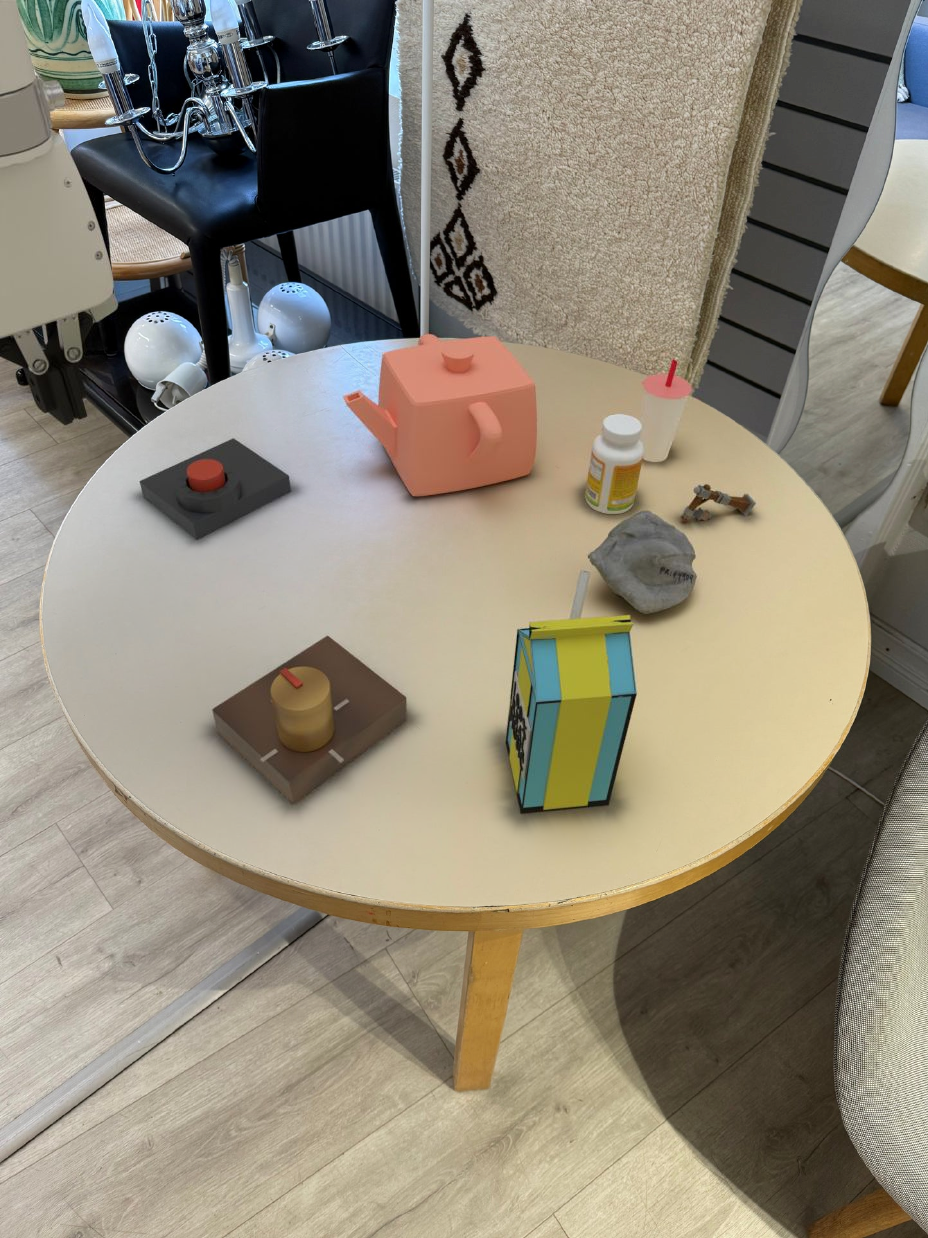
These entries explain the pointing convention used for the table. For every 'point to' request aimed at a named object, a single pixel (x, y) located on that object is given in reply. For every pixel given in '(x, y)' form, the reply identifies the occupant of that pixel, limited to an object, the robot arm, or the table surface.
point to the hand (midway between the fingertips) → (65, 413)
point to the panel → (358, 714)
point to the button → (206, 475)
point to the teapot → (453, 414)
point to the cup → (662, 412)
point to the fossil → (646, 562)
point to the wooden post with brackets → (704, 492)
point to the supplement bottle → (615, 465)
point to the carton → (570, 708)
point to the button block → (209, 511)
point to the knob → (303, 708)
